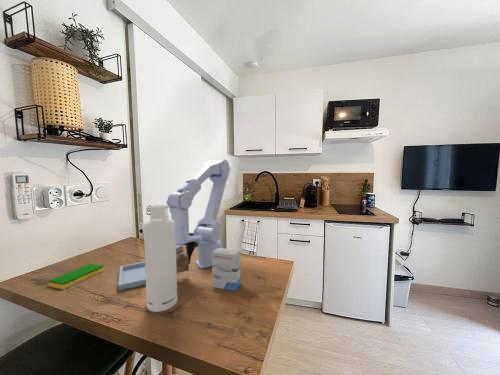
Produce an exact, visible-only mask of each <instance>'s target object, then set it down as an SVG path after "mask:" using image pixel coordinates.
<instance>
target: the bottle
mask: <svg viewBox="0 0 500 375" xmlns="http://www.w3.org/2000/svg"><path fill="white" fill-rule="evenodd" d="M149 210H150V212H149V213H150V216H149V217H150V218H149V219H148V220H147V221H146V222H145V223H144V224H143V237H144V238H143V240H144V241H143V242H144V262H145V270H146V285H145V291H146V292H145V294H146V295H145V296H146V308H147V310H149V311H150V312H153V313H158V312H164V311H166V310H168V309H171V308H173V307H174V306H175V305H176V303H178V278H177V277H178V273H177V269H176V234H175V222H174V220H172V219H171V217H170V216H169V207H168V205H167V204H155V205H151V206H150V205H149Z"/></svg>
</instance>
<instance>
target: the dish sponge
mask: <svg viewBox="0 0 500 375" xmlns="http://www.w3.org/2000/svg"><path fill="white" fill-rule="evenodd" d="M104 271H105V270H104V265H102V264H96V263H89V264H86V265H84V266H81V267H79V268H76V269H74V270H72V271H69V272H66V273H63V274H62V275H59V276H57V277H53V278H51V279H49V280H48V286H49V287H50V288H56V289H60V290H65V289H67V288H69V287H71V286H74V285H76V284H78V283H80V282H83V281H84V280H86V279H89V278H92V277H94V276H95V275H97V274H101V273H103V272H104Z"/></svg>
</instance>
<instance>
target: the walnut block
mask: <svg viewBox="0 0 500 375" xmlns="http://www.w3.org/2000/svg"><path fill="white" fill-rule="evenodd" d="M189 267H190V264H189V259H188V255H187V254H186V252H182V253H181V252H179V253H178V254H176V269H177V274H179V273H184V272H188V271H189V270H190V268H189Z"/></svg>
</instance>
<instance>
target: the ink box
mask: <svg viewBox="0 0 500 375" xmlns="http://www.w3.org/2000/svg"><path fill="white" fill-rule="evenodd" d="M211 253H212V266H211V286H212V288H214V289H215V288H216V289H220V290H225V291H226V290H227V291H232V292H237V290H238V289H239V288H240V286H241V285H242V281H241V278H242V277H241V272H242V271H241V265H242V263H241V250H239V249H231V248H224V247H222V248H217V249H216V250H214V251H213V252H211Z"/></svg>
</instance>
